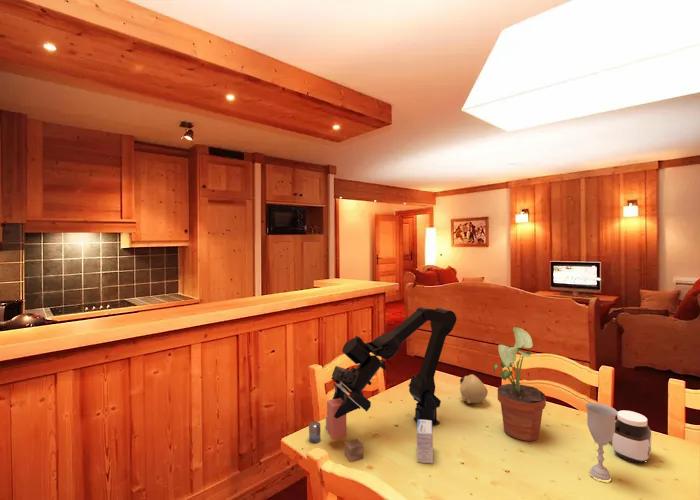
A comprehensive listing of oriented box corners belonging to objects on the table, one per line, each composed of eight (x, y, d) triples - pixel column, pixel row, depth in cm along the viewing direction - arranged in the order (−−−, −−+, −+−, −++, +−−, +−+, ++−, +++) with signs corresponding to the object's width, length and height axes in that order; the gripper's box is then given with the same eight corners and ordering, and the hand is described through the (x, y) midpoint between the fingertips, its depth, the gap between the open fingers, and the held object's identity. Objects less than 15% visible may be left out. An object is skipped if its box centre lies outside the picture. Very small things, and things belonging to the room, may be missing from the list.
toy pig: (481, 395, 146) (481, 368, 145) (491, 409, 134) (491, 380, 133) (456, 394, 146) (456, 368, 146) (463, 408, 134) (463, 380, 134)
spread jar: (640, 469, 99) (640, 426, 98) (594, 448, 108) (594, 410, 108) (657, 454, 105) (658, 414, 105) (613, 436, 115) (613, 400, 114)
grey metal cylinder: (318, 436, 117) (318, 420, 117) (322, 441, 113) (322, 425, 113) (307, 438, 115) (307, 423, 115) (311, 444, 112) (310, 428, 112)
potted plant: (489, 419, 126) (489, 318, 125) (537, 423, 123) (538, 320, 122) (498, 444, 111) (498, 330, 110) (553, 450, 108) (554, 332, 106)
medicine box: (433, 464, 102) (433, 433, 101) (416, 462, 102) (416, 432, 102) (432, 448, 109) (432, 420, 109) (417, 446, 110) (417, 418, 110)
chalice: (578, 468, 99) (578, 403, 98) (601, 467, 100) (602, 401, 99) (598, 486, 92) (599, 416, 91) (624, 485, 92) (625, 414, 92)
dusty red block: (340, 429, 115) (340, 397, 115) (346, 436, 111) (346, 403, 110) (327, 432, 113) (327, 400, 113) (332, 439, 109) (332, 406, 109)
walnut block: (357, 451, 108) (357, 438, 108) (363, 459, 104) (362, 445, 104) (344, 455, 107) (344, 441, 106) (350, 462, 103) (350, 448, 103)
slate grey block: (337, 426, 123) (337, 414, 123) (341, 432, 119) (341, 420, 119) (325, 429, 121) (325, 417, 121) (330, 434, 118) (330, 422, 117)
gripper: (336, 348, 121) (305, 387, 117) (360, 366, 104) (324, 412, 100) (358, 368, 125) (328, 406, 121) (385, 389, 108) (351, 434, 104)
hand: (332, 414), depth 111 cm, fingers closed on dusty red block, 4 cm apart
